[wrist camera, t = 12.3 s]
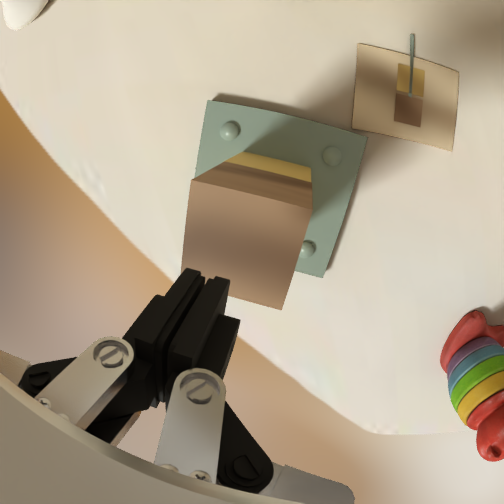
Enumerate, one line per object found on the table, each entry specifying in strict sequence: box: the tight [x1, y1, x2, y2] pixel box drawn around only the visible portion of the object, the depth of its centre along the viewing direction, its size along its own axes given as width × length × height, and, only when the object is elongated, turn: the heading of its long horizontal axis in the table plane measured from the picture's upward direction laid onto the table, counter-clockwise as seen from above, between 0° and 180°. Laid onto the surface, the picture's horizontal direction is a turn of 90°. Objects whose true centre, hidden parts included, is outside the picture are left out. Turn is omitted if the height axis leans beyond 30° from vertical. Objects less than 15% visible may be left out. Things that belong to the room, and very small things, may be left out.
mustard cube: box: [225, 152, 311, 182], centre depth 23 cm, size 6×6×6 cm
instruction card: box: [352, 34, 459, 152], centre depth 20 cm, size 10×10×1 cm
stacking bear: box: [440, 311, 504, 462], centre depth 22 cm, size 11×10×18 cm
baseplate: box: [195, 100, 368, 278], centre depth 26 cm, size 14×14×1 cm
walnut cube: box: [181, 161, 313, 310], centre depth 18 cm, size 6×6×6 cm
